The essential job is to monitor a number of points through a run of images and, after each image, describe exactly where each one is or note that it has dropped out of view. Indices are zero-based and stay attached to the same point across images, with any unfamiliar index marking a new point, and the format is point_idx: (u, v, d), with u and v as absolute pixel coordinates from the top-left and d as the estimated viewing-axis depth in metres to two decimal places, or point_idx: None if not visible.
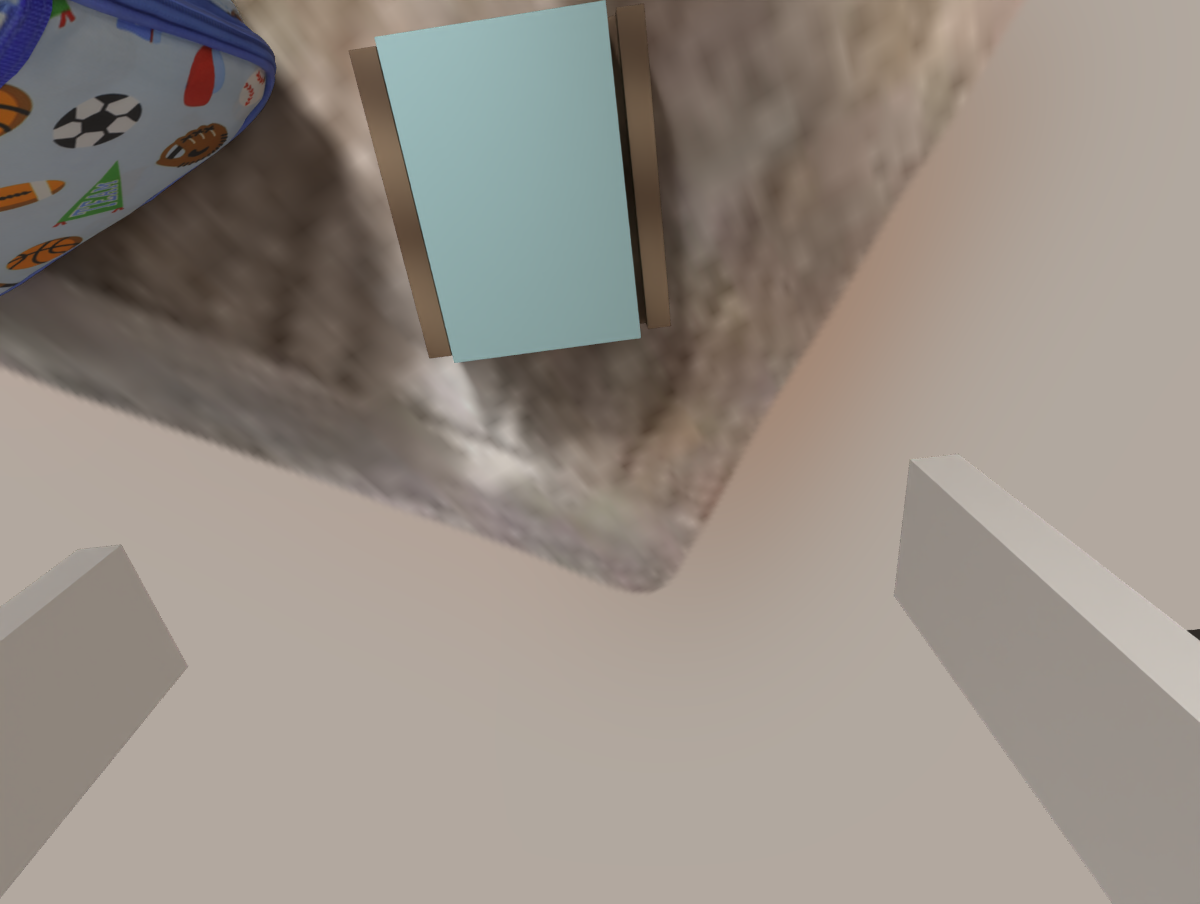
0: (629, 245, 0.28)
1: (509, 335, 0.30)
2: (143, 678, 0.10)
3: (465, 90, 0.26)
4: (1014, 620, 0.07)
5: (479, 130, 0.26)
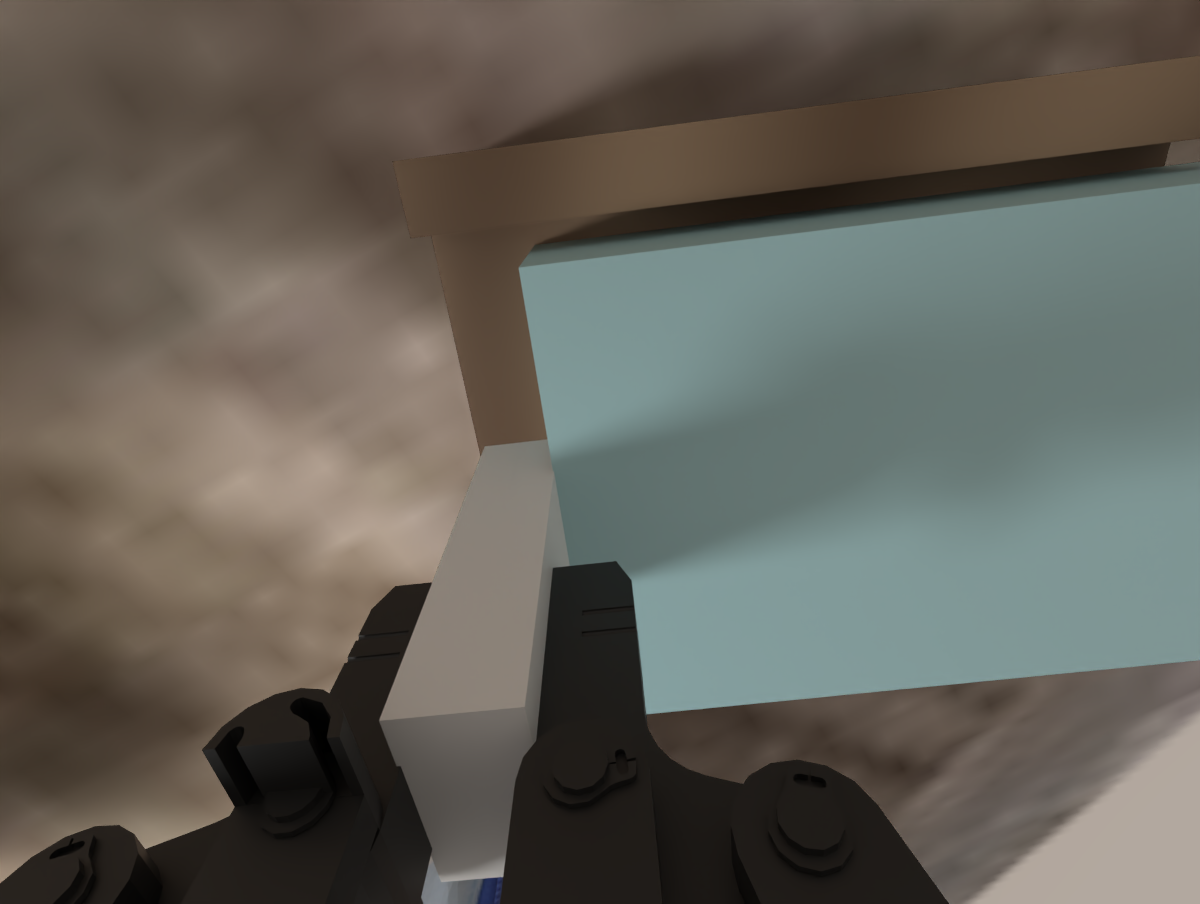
0: (1164, 193, 0.09)
1: None
2: None
3: (693, 588, 0.12)
4: None
5: (775, 569, 0.11)
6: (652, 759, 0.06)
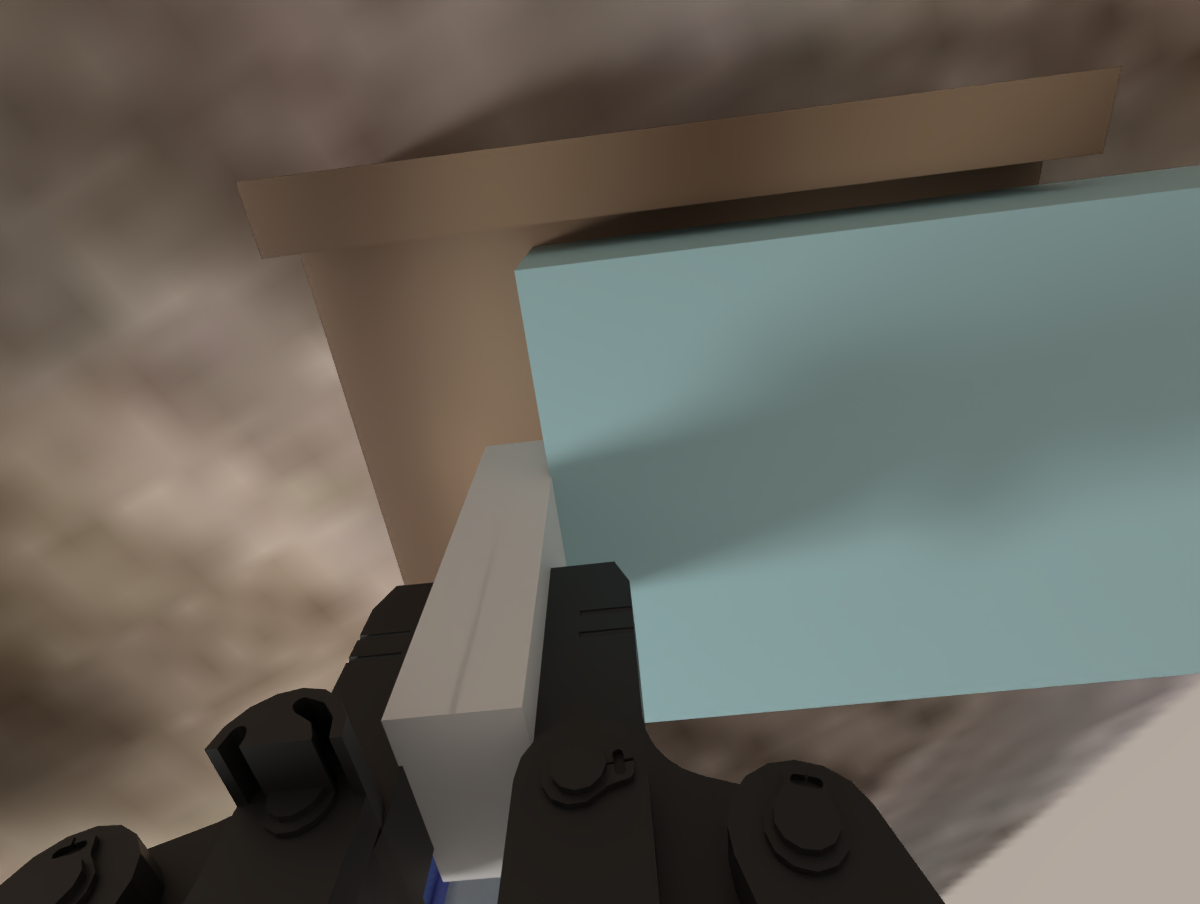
0: (1177, 196, 0.09)
1: None
2: None
3: (692, 596, 0.11)
4: None
5: (776, 577, 0.11)
6: (649, 759, 0.06)
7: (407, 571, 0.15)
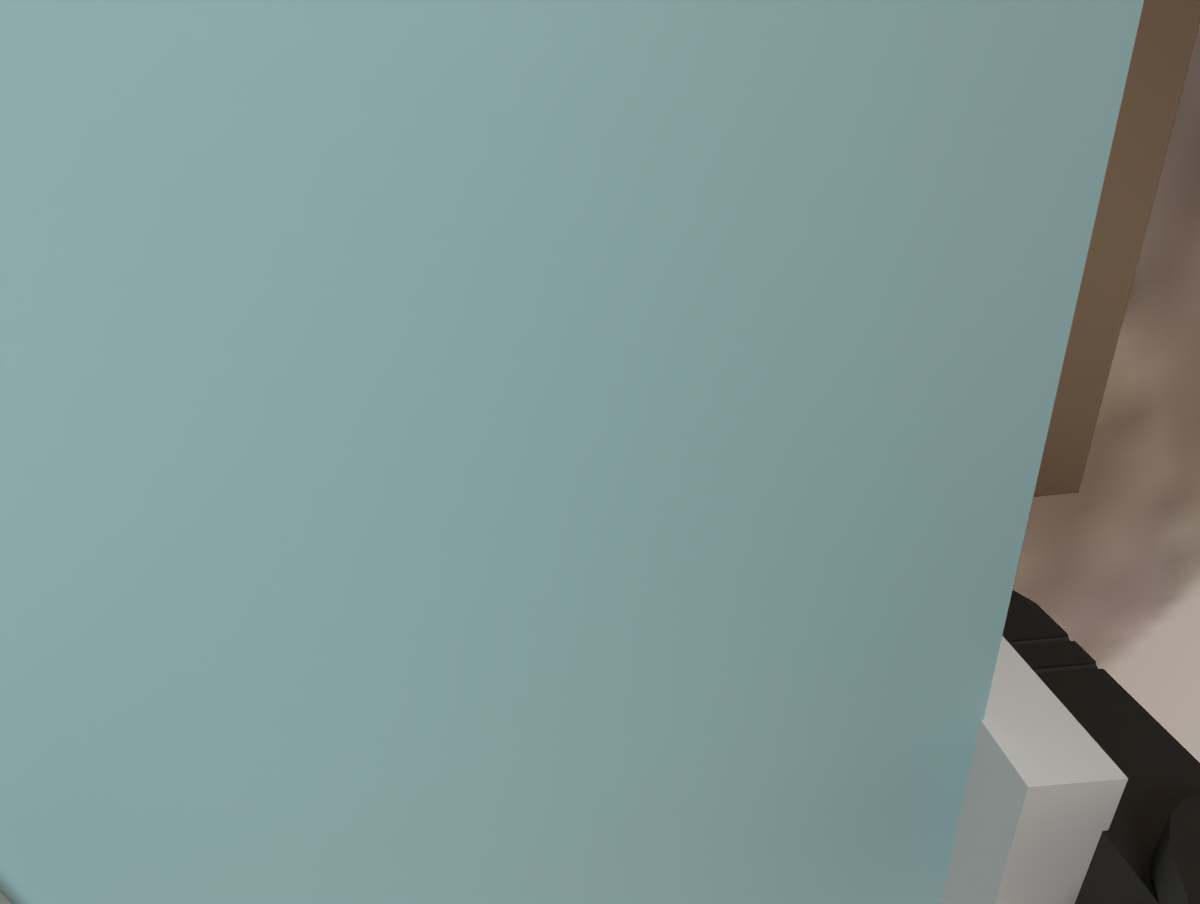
0: (991, 624, 0.05)
1: None
2: None
3: None
4: None
5: None
6: None
7: None
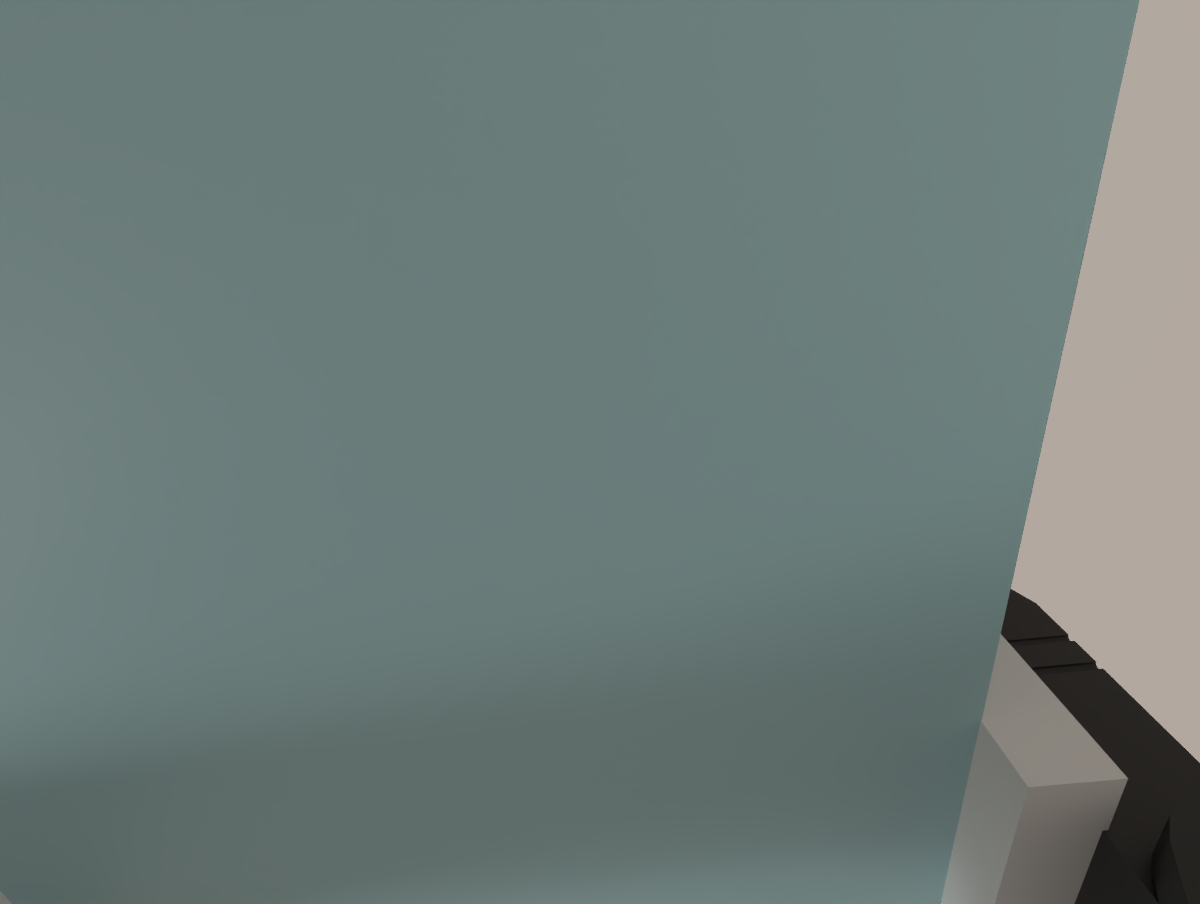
0: (992, 607, 0.05)
1: None
2: None
3: None
4: None
5: None
6: None
7: None
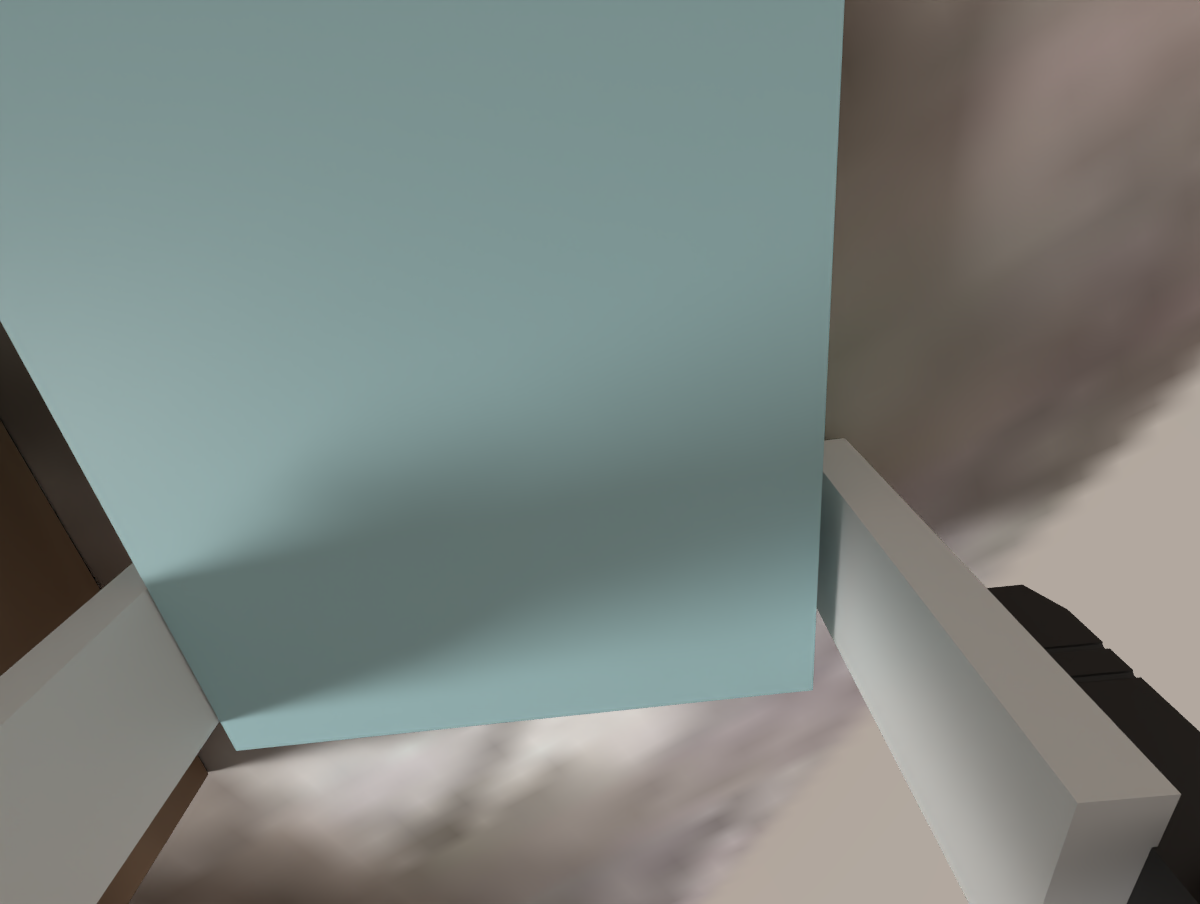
0: (817, 440, 0.08)
1: (401, 687, 0.09)
2: None
3: None
4: (863, 580, 0.08)
5: None
6: None
7: None
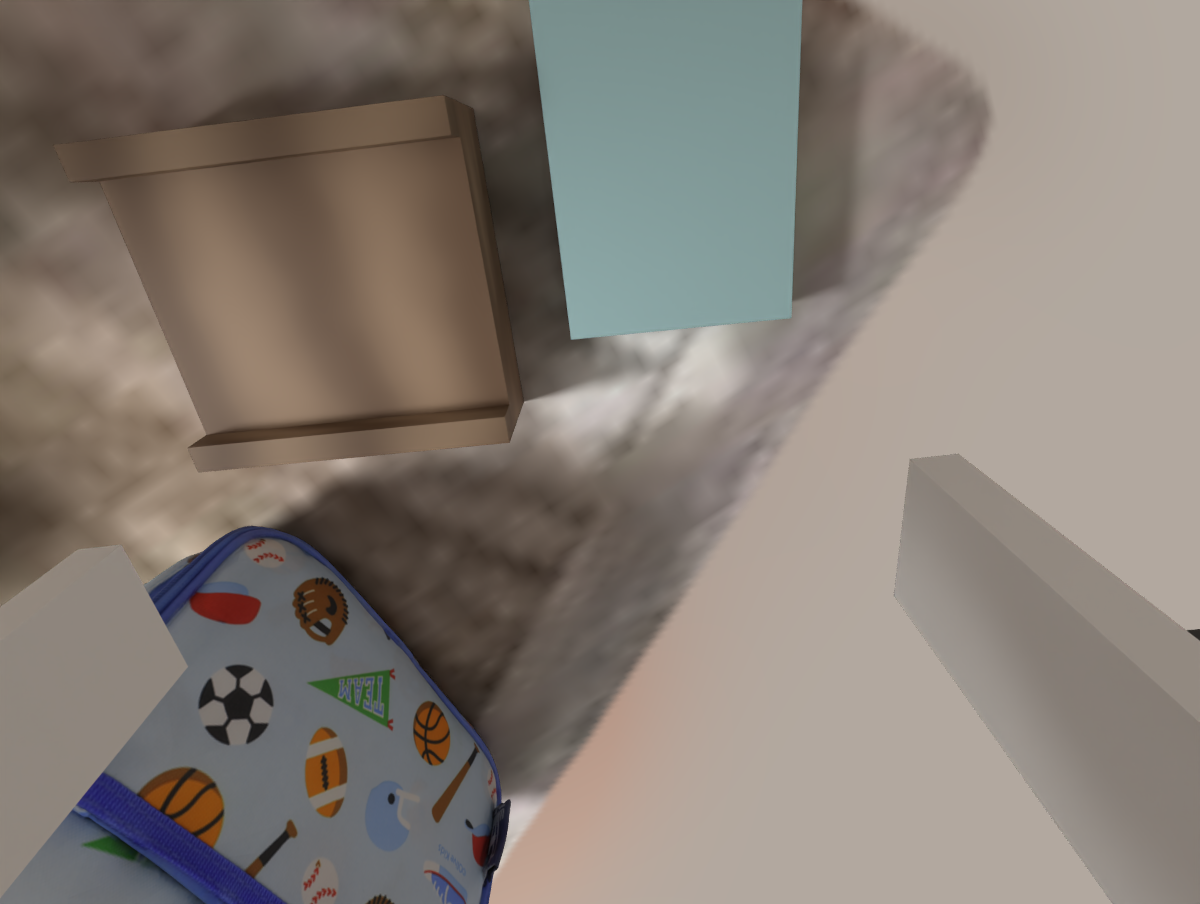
0: (792, 207, 0.24)
1: (638, 310, 0.26)
2: (143, 678, 0.10)
3: (622, 8, 0.21)
4: (1013, 620, 0.07)
5: (633, 60, 0.22)
6: None
7: (184, 373, 0.26)
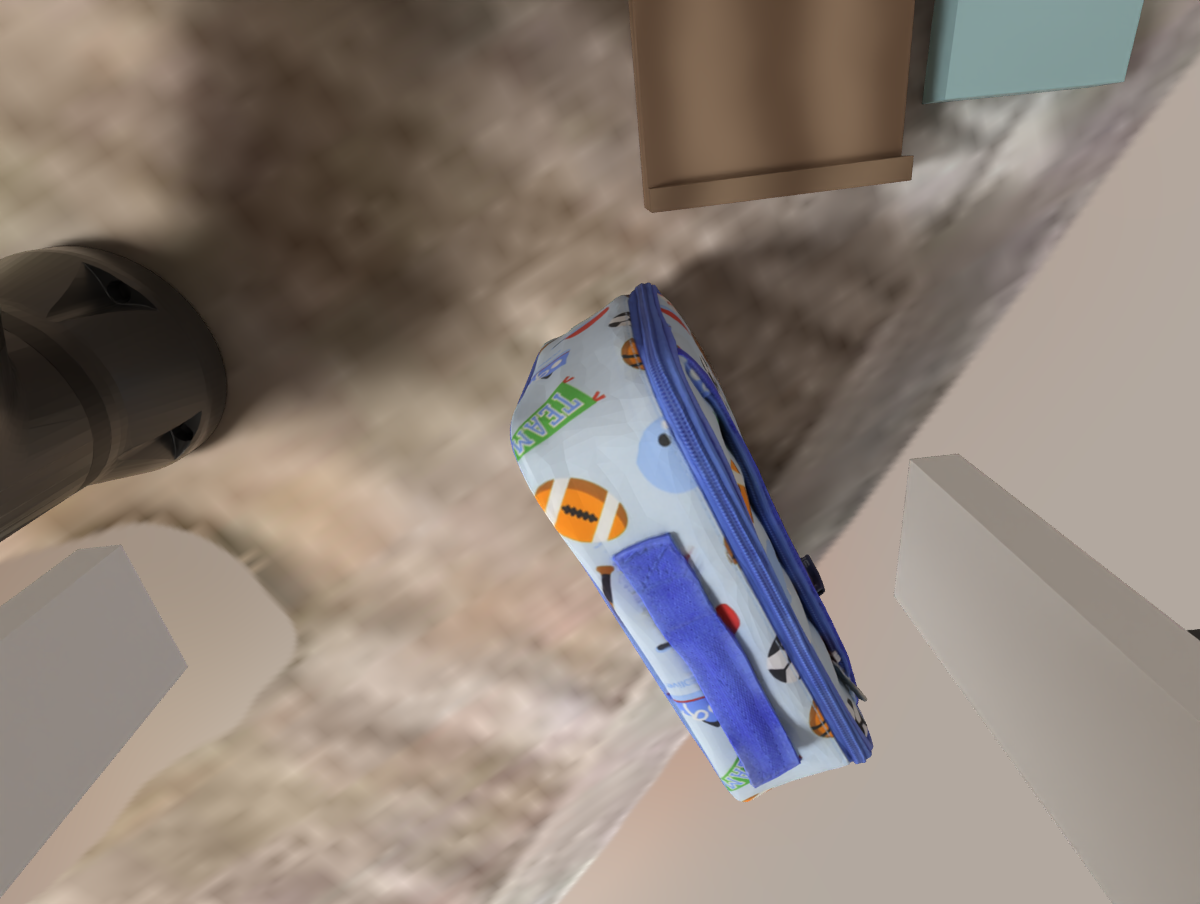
0: None
1: (1005, 72, 0.32)
2: (143, 678, 0.10)
3: None
4: (1013, 620, 0.07)
5: None
6: None
7: (646, 128, 0.32)
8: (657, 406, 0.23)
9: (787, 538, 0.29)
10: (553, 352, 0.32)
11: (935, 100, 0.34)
